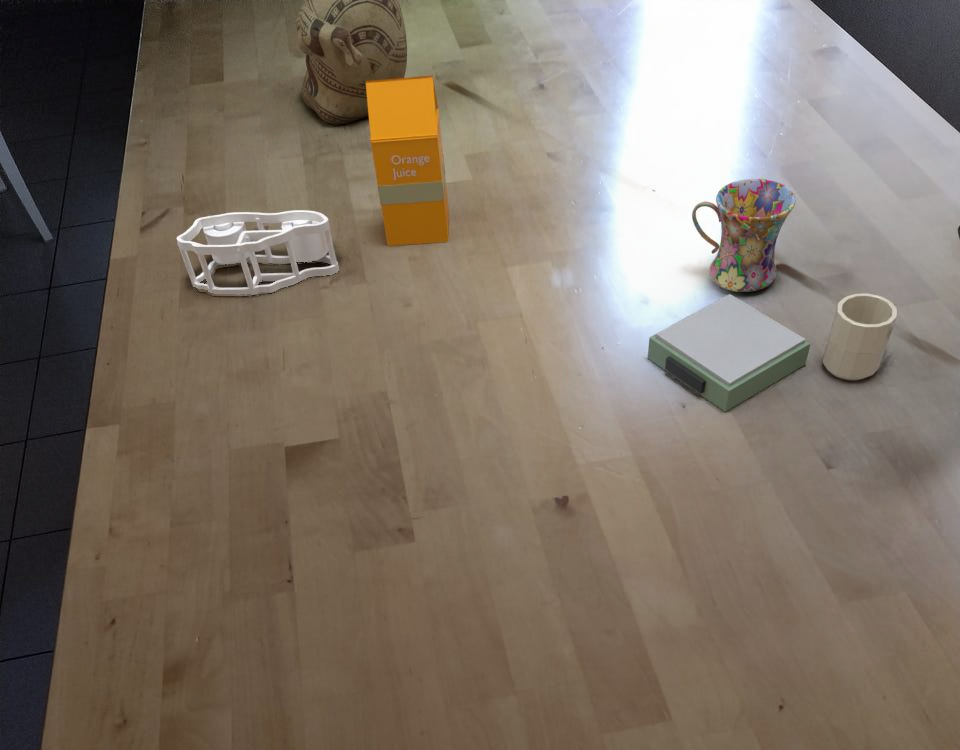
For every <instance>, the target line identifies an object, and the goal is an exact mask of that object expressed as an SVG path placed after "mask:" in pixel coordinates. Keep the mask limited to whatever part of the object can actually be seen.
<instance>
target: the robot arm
mask: <svg viewBox="0 0 960 750" xmlns="http://www.w3.org/2000/svg"><path fill="white" fill-rule="evenodd" d="M957 235H958V239H959V240H960V225H959V226H958V227H957Z"/></svg>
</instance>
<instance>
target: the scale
mask: <svg viewBox="0 0 960 750" xmlns="http://www.w3.org/2000/svg"><path fill="white" fill-rule="evenodd" d="M811 344H812V343H811V342H810V341H808V340H807V339H806V338H805V337H803V336H801V335H799V334H798V333H796V332H794V331H793V330H791V329H790V328H788V327H786V326H784V325H782V324H781V323H779V322H778V321H776V320H774V319H773V318H771V317H769V316H767V315H766V314H764V313H762V312H761V311H759V310H757V309H756V308H754V307H753V306H750V305H749V304H747V303H746V302H744V301H743V300H741V299H739V298H737V297H735V296H734V295H732V294H731V293H729V294H727V295H724V296H722V297H721V298H719V299H717V300H716V301H714V302H712V303H710V304H708V305H706V306H704V307H703V308H701V309H699V310H697V311H695V312H693V313H692V314H689V315H688V316H686V317H684V318H683V319H681V320H679V321H677V322H675V323H672V324H671V325H670V326H668V327H666V328H664V329H662V330H660V331H659V332H656V333H655V334H653V335H651V336H650V337H649V339H648V347H647V348H648V350H647V360H649V361H651V362H652V363H654V364H655V365H656V366H657V367H659V368H661V369H662V370H663V371H665V372H666V373H668V374H669V375H671V376H672V377H674V378H675V379H677V381H679V382H681V383H683V384H684V385H685V386H686V387H688V388H689V389H691V390H692V391H694V392H695V393H696V394H698V395H700V396H701V397H702V398H704V399H705V400H706V401H708V402H710V403H711V404H712V405H714V406H715V407H717V408H719V409H720V410H721V411H723V412H724V413H726V412H728V411H729V410H731V409H733V408H734V407H737V406H738V405H740V404H742V403H743V402H745V401H746V400H748V399H750V398H751V397H753V396H755V395H756V394H758V393H760V392H761V391H763V390H765V389H766V388H768V387H770V386H771V385H773V384H775V383H776V382H779V381H780V380H782V379H784V378H786V377H787V376H788V375H791V374H792V373H793V372H795V371H797V370H798V369H800V368H802V367H803V366H805V365H806V363H807V360H808V354H809V351H810V348H811Z"/></svg>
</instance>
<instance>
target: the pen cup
mask: <svg viewBox="0 0 960 750" xmlns="http://www.w3.org/2000/svg"><path fill="white" fill-rule="evenodd" d="M897 317H898V309H897V306H895V305H894V303H893V302H892V301H891V300H889V299H887V298H885V297H883V296H882V295H877V294H872V293H869V292H867V293H866V292H865V293H853V294H850V295H847V296H845V297H843V298H842V299H840V301H839V302H838V303H837V306H836V309H835V313H834V317H833V319H832V323H831V327H830V330H829V333H828V337H827V342H826V345H825V348H824V352H823V356H822V364H823V365H824V367H825V369H826V370H827V371H828V372H829V373H830V374H832V375H833V376H834V377H836V378H839V379H842V380H846V381H860V380H863V379H866V378H868V377H871V376H873V375H874V374H875V373H876V372H877V371H878V370H879V369H880V367H881V364H882V360H883V357H884V355H885V352H886V349H887V346H888V343H889V341H890V337H891V336H892V335H891V334H892V332H893V329H894V326H895V323H896V320H897Z"/></svg>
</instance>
